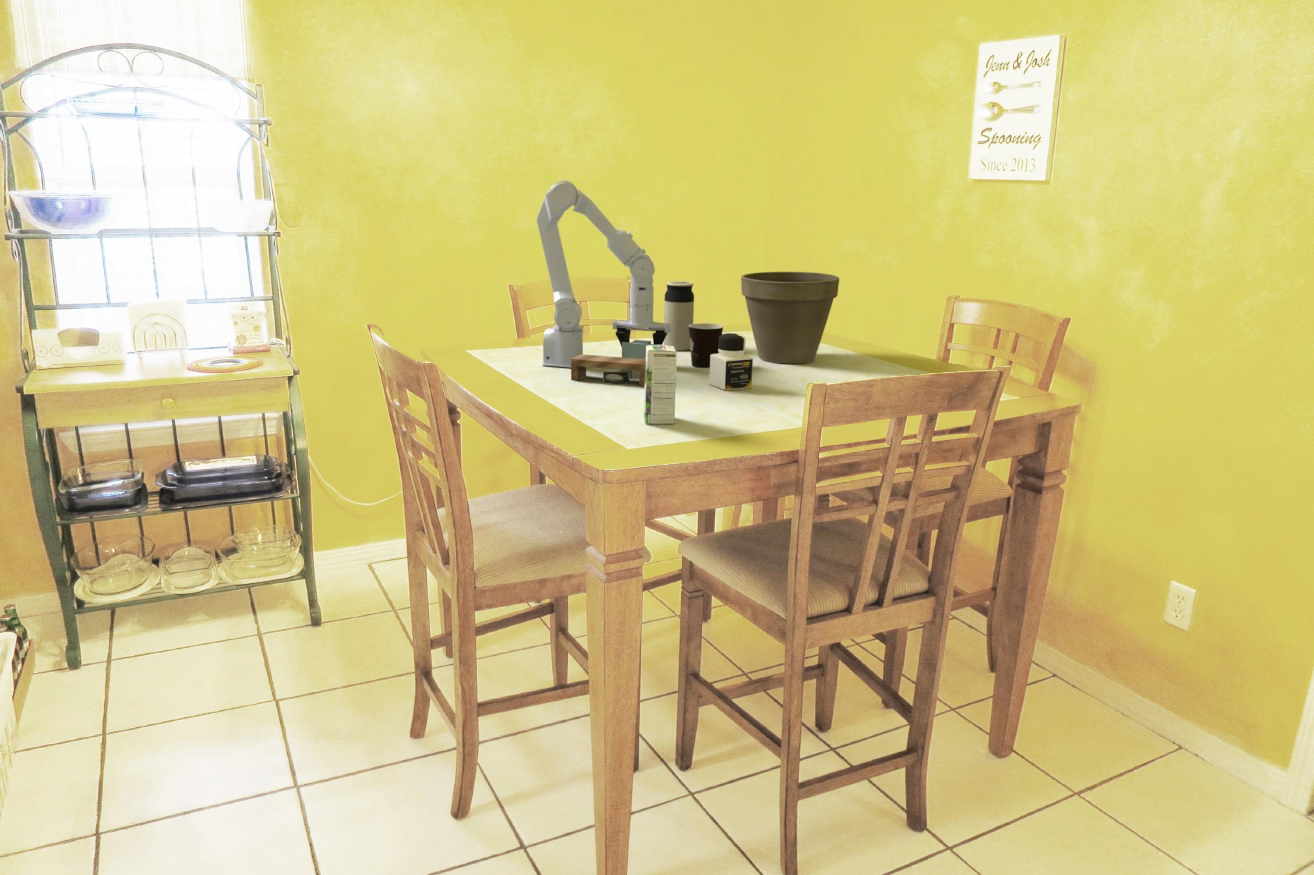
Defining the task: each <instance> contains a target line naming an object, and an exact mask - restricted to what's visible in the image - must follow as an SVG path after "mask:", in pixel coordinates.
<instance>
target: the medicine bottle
mask: <svg viewBox="0 0 1314 875" xmlns="http://www.w3.org/2000/svg"><path fill="white" fill-rule="evenodd" d="M746 341H747V340H746V336H745V335H743V334H741V333H735V332H732V333H731V332H727V333H722V335H720V336H719V346H718V352H719V354H711V355H710V368H709V382H708V383H709V385H710V386H713V387H715V388H718V389H721V390H722V391H726V392H727V391H728V392H729V391H736V390H737V391H738V390H746V389H751V388H752V381H753V365H754V364H753V363H754V358H753V357H752V356H749V355H747V354H745V353H746V343H747V342H746Z"/></svg>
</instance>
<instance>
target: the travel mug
mask: <svg viewBox="0 0 1314 875" xmlns="http://www.w3.org/2000/svg"><path fill="white" fill-rule="evenodd" d="M665 285H666V288H667V289H666V291H665V294H664V306H663V307H664V310H663V311H664V312H663V323H667V324H671V332H669V333H667V335H666V337H665V339H664V342H663V345H668V346H674V347H675V349H676V351H677V352H684V351H685V352H686V351H691V349H690V337H689V325H690V324H694V316H695V315H694V311H695V310H694V309H695V306H694V305H695V293H694V292H693V286H694V282H692V281H686V280H683V281H682V280H673V281H672V280H671V281H667V282H665Z"/></svg>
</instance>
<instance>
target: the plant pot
mask: <svg viewBox="0 0 1314 875" xmlns="http://www.w3.org/2000/svg"><path fill="white" fill-rule="evenodd" d="M740 284H741V285H740V286H741V287H740V288H741V289H740V290H741V295H742V296H743V297H744V298H745V303H746V308H747V312H748V313H747V314H748V317H749V322H750V325H751V330H752V331H751V332H752V335H753V339H754V343H755V347H756V351H757V354H758V357H759V359H761V360H762V361H765V362H769V363H775V364H786V365H787V364H788V365H789V364H790V365H791V364H805V363H811V362H813V361H815V358H816V355H817V353H818V350H819V348H820V344H821V341H822V337H823V334H824V331H825V328H826V325H827V322H828V320H829V319H828V318H829V316H830V312H831V310H832V305H833V302H834V299H836V298H837V297H838V293H839V285H840V277H839V276H837V275H834V274H830V273H823V272H822V273H821V272H809V271H763V272H760V271H759V272H752V273H744V274H743V275H742V274H741V277H740Z"/></svg>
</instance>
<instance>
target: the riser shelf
mask: <svg viewBox="0 0 1314 875" xmlns="http://www.w3.org/2000/svg"><path fill="white" fill-rule="evenodd" d="M645 365H646V359H636V358H623V357H622V356H609V355H608V356H606V355H597V354H596V355H593V354H584V353H583V354H580V355H578V356H576V357H574V358H572V359H571V368H570V381H575V382H578V381H580V380H582V378H585V377H586V376H587V367H589V368H598V369H599V368H600V369H601V368H602V369H623V370H635V371H640V373H639V374H638V376H639V380H638V381H639V385H638V386H639V387H645Z"/></svg>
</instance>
